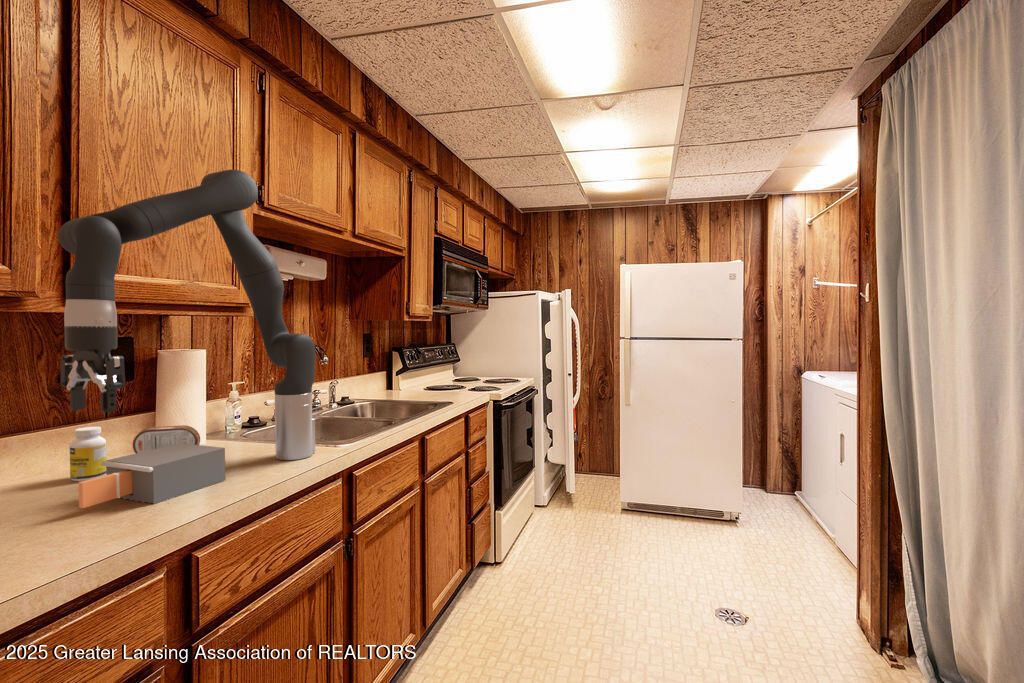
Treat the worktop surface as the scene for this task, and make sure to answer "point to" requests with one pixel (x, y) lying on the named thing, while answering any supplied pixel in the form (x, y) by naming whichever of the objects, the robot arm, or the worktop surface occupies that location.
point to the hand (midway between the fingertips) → (93, 410)
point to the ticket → (105, 488)
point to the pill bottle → (87, 454)
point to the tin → (165, 437)
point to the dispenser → (170, 470)
